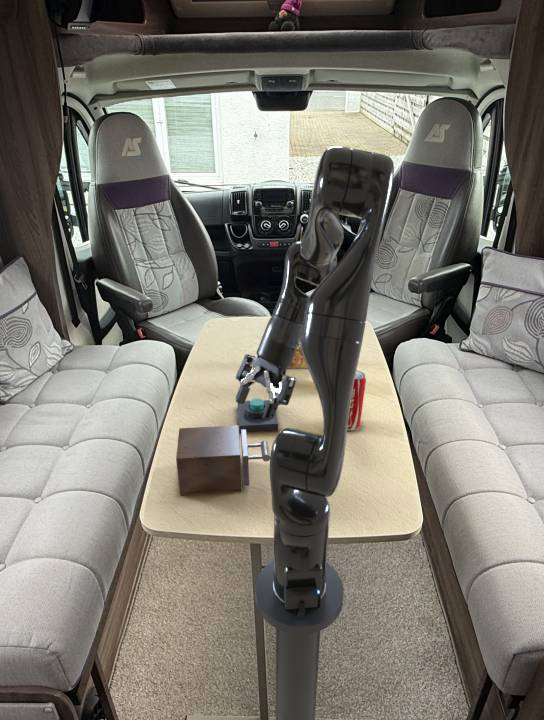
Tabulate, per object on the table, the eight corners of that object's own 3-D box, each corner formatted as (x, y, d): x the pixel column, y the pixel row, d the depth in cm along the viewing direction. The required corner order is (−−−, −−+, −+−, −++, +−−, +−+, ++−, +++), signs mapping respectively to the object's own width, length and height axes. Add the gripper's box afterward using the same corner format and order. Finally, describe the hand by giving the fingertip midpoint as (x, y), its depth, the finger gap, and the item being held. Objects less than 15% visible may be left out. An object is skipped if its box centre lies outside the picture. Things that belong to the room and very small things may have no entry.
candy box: (308, 362, 175) (310, 317, 168) (309, 368, 171) (311, 323, 164) (281, 362, 175) (281, 317, 167) (281, 368, 171) (281, 323, 164)
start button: (264, 411, 142) (264, 405, 142) (250, 411, 142) (250, 405, 141) (263, 403, 146) (263, 398, 145) (249, 404, 145) (249, 398, 144)
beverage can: (335, 428, 142) (338, 378, 135) (342, 416, 147) (346, 366, 140) (357, 433, 140) (362, 382, 133) (364, 421, 145) (368, 371, 138)
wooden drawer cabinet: (239, 459, 130) (238, 425, 125) (241, 491, 120) (240, 454, 115) (182, 463, 129) (179, 428, 124) (180, 495, 119) (176, 458, 114)
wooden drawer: (267, 456, 130) (267, 428, 126) (271, 484, 121) (271, 454, 117) (194, 461, 128) (191, 432, 124) (192, 489, 119) (189, 459, 115)
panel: (278, 430, 141) (278, 417, 139) (239, 432, 140) (238, 419, 138) (273, 406, 151) (273, 394, 149) (237, 408, 150) (237, 395, 148)
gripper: (246, 325, 115) (219, 396, 117) (293, 348, 106) (263, 424, 108) (269, 332, 120) (243, 399, 123) (316, 354, 111) (287, 426, 114)
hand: (252, 411), depth 116 cm, fingers open, 8 cm apart
